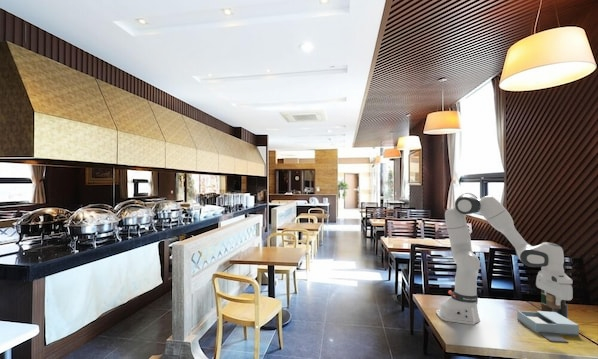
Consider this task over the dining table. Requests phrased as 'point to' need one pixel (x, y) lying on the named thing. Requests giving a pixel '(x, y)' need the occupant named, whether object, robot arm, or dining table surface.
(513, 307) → the dining table surface
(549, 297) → the walnut block
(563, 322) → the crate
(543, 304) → the beer bottle
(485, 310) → the dining table surface
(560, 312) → the supplement bottle
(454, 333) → the dining table surface
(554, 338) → the pad
